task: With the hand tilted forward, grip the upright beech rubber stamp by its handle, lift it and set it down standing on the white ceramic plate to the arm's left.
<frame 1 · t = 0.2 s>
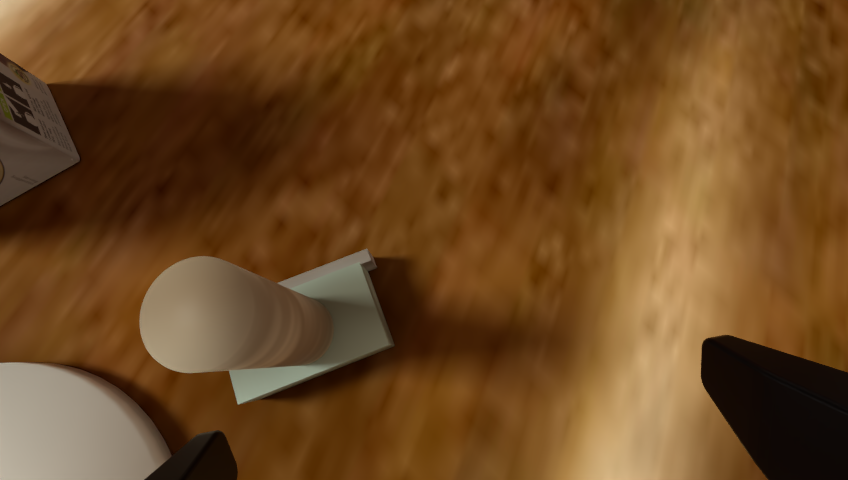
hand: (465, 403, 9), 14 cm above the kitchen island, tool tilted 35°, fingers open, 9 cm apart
rubber stamp: (315, 333, 23), on the kitchen island
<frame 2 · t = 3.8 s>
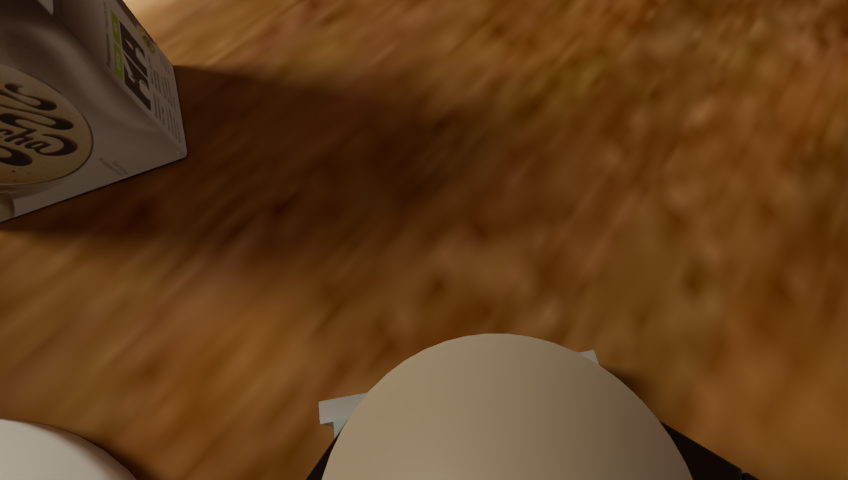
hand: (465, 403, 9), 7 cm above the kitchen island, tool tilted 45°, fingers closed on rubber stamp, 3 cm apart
coffee box: (85, 142, 21), on the kitchen island
rubber stamp: (474, 473, 14), on the kitchen island, touching gripper
when the fingers open (9 cm above the kitchen island, at t = 7.1 s): rubber stamp drops 1 cm, resting on plate.
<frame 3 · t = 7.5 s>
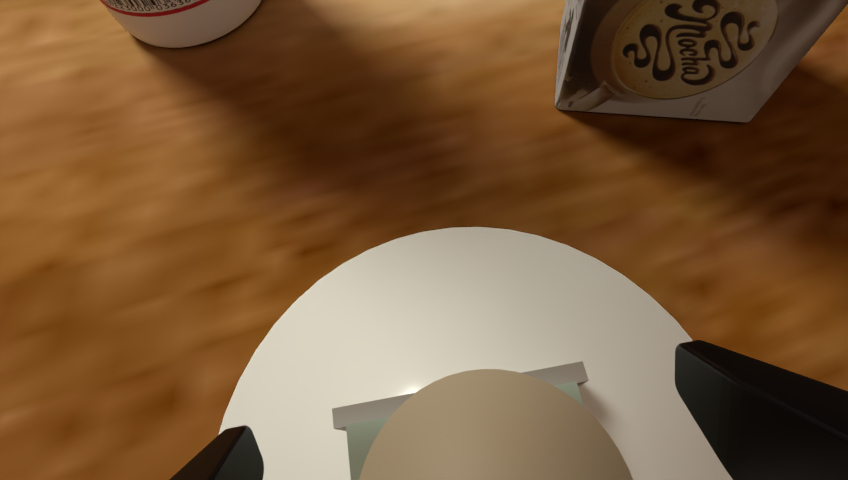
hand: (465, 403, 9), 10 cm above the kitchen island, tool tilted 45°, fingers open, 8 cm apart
coffee box: (644, 72, 24), on the kitchen island
rubber stamp: (473, 473, 15), point 1 cm above the kitchen island, touching plate
plate: (472, 470, 17), on the kitchen island
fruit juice: (198, 0, 29), on the kitchen island
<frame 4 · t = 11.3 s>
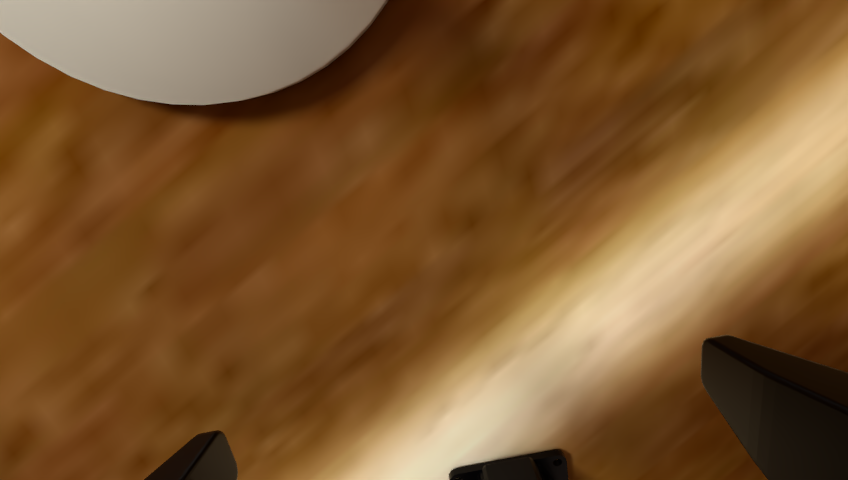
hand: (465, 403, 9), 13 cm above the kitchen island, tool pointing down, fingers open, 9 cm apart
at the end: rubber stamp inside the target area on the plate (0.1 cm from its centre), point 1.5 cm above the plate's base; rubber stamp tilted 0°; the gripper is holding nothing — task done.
